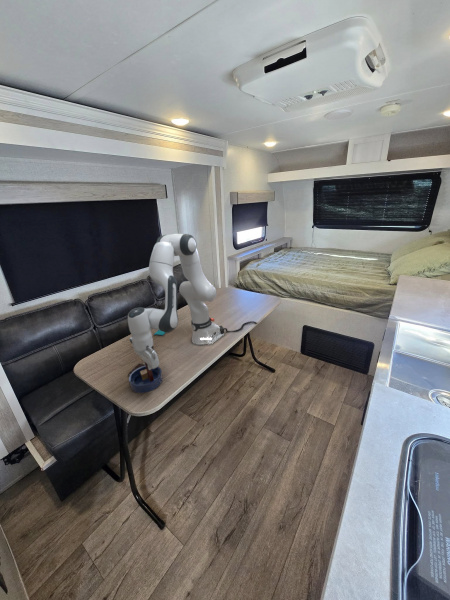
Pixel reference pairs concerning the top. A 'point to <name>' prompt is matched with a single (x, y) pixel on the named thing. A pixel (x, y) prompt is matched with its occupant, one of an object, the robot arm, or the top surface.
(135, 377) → the bowl
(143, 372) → the block
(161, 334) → the smartphone
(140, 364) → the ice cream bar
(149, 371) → the chopstick
